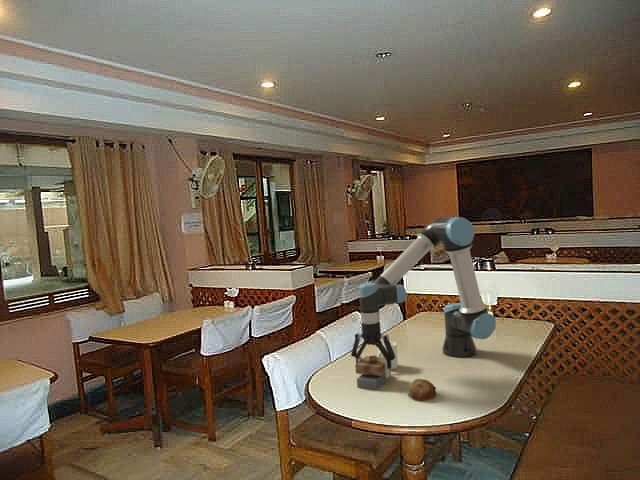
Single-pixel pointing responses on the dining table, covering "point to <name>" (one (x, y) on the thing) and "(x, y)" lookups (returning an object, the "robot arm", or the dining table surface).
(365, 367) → the lid
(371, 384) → the grey flat block
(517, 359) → the dining table surface
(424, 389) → the bread roll
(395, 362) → the mug
